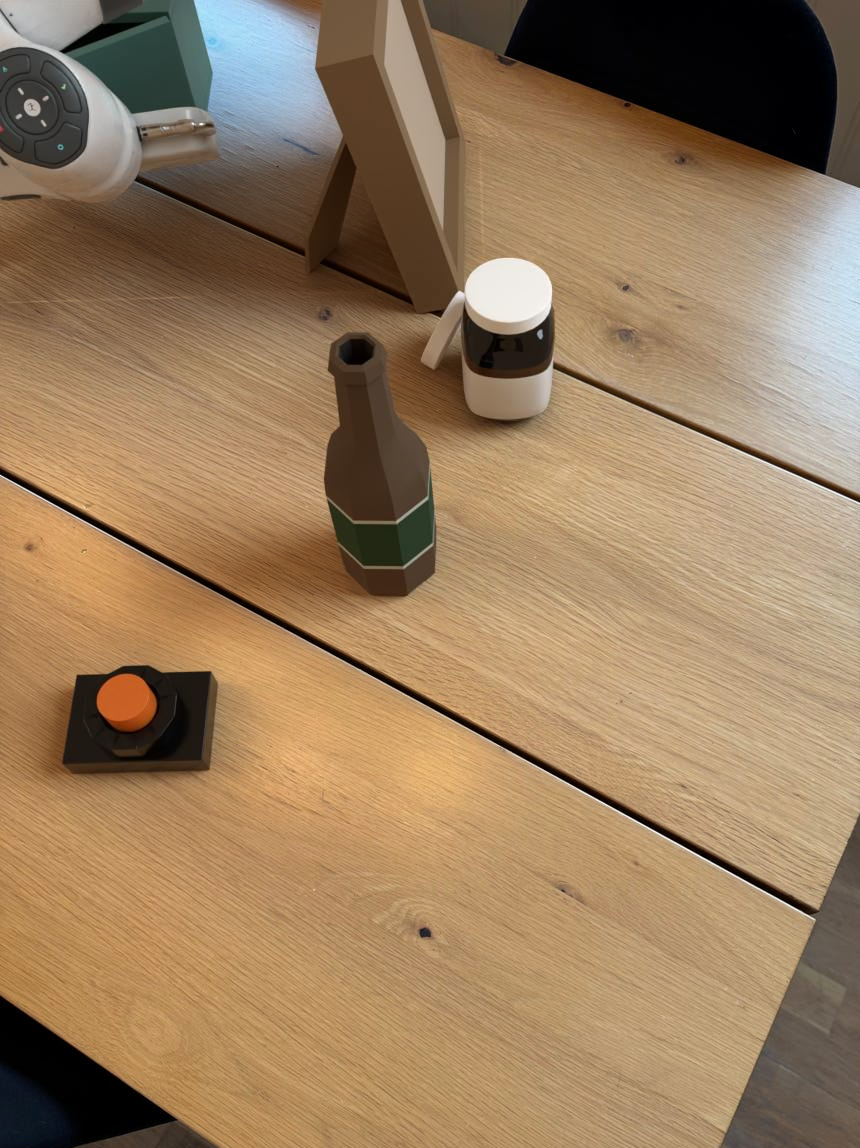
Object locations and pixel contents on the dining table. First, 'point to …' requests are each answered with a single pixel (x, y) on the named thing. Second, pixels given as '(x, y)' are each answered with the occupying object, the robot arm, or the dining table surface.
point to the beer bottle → (377, 476)
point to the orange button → (127, 702)
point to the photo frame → (393, 143)
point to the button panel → (160, 745)
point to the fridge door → (140, 67)
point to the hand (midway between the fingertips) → (113, 162)
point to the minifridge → (184, 20)
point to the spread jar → (501, 339)
